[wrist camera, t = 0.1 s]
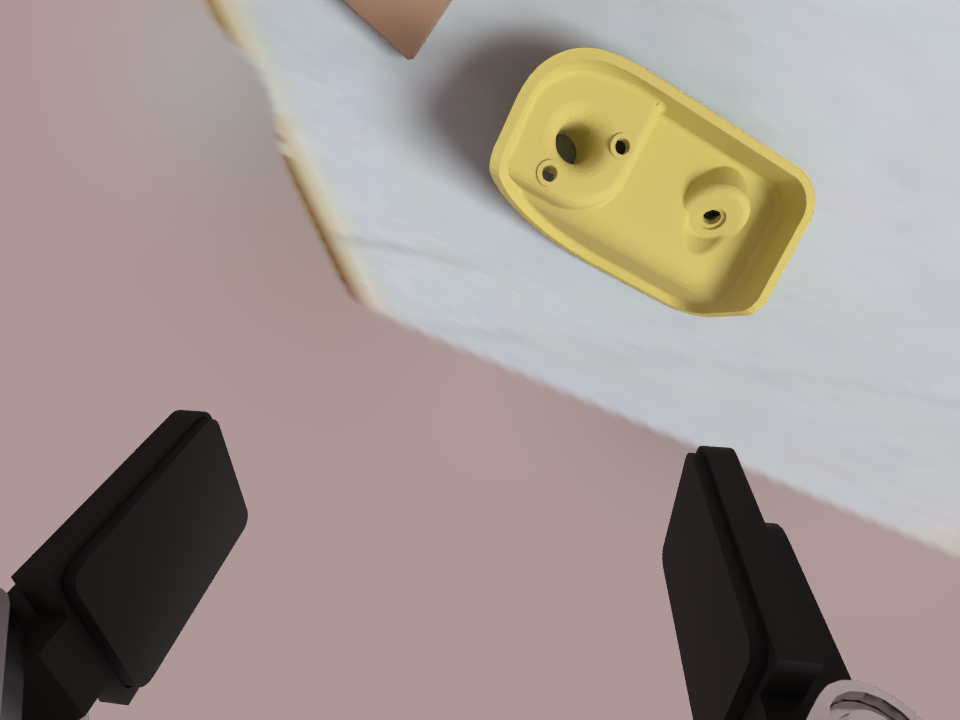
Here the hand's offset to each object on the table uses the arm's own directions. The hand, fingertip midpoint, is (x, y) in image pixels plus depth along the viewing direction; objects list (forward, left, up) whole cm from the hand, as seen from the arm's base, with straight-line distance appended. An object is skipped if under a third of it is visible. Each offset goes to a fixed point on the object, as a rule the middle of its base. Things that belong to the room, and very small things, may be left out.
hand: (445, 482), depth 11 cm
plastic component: (-4, +7, -32) cm, 33 cm away
